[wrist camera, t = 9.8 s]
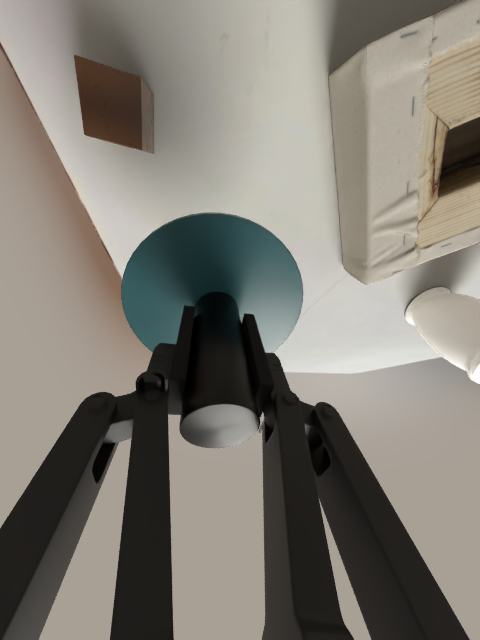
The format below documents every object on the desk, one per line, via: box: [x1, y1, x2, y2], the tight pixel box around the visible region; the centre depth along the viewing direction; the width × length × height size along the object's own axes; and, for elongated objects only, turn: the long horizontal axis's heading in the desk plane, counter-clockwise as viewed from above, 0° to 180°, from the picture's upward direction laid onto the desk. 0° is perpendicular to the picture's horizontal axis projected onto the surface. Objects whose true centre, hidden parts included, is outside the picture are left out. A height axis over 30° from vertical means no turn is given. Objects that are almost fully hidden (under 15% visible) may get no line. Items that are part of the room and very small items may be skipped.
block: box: [74, 55, 154, 154], centre depth 21 cm, size 5×5×5 cm
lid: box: [121, 213, 303, 448], centre depth 14 cm, size 15×15×11 cm
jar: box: [405, 287, 480, 384], centre depth 36 cm, size 11×10×15 cm
